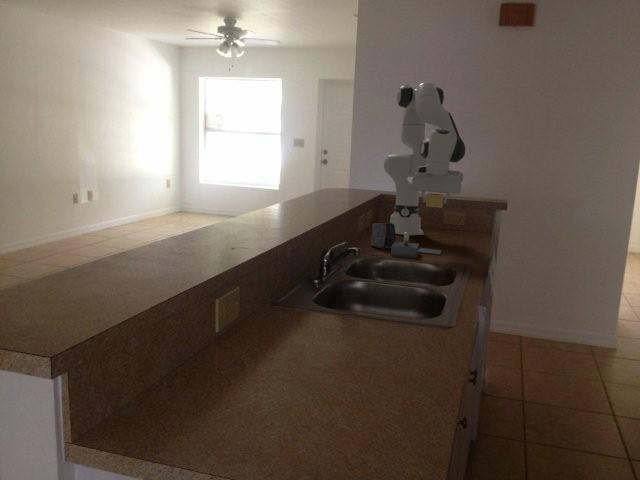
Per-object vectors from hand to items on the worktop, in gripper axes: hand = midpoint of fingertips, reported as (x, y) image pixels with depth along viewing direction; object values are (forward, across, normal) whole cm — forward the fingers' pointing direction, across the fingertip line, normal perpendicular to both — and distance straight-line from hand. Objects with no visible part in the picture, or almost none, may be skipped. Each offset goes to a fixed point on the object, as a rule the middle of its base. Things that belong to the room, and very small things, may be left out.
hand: (434, 203), depth 236 cm
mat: (+21, 0, 0) cm, 21 cm away
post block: (+21, +9, +10) cm, 25 cm away
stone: (+21, +20, 0) cm, 29 cm away
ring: (+1, 0, 0) cm, 1 cm away
